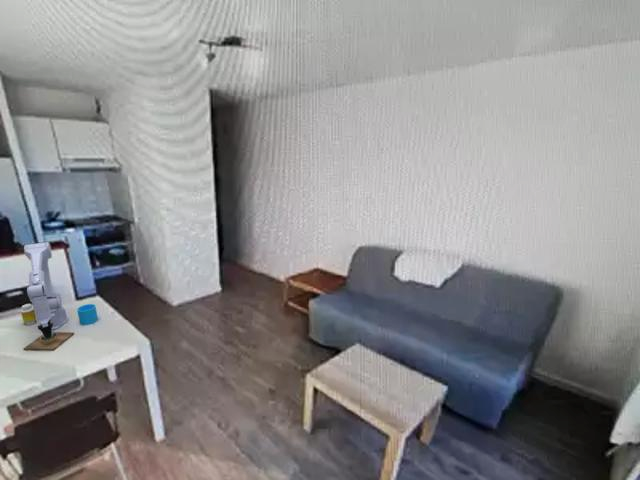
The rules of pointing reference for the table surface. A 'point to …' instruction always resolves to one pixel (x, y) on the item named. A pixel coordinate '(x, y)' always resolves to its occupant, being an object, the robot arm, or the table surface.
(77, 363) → the table surface
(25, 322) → the supplement bottle
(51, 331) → the teal peg
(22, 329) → the table surface
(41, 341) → the brass collar
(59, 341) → the socket board
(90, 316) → the mug
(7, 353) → the table surface
